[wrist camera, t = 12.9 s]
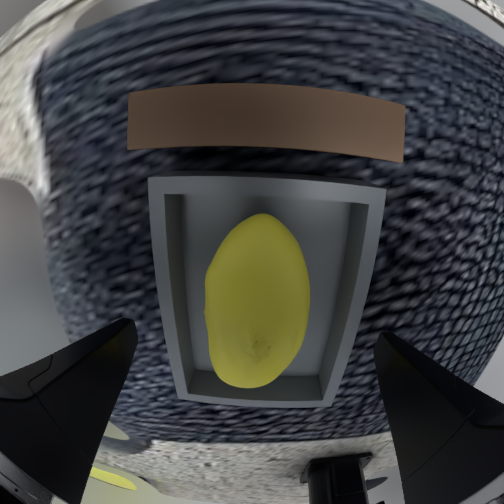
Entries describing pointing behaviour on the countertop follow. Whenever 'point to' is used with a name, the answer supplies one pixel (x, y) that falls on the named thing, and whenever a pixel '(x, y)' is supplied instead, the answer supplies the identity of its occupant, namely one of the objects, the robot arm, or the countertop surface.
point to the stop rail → (266, 119)
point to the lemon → (256, 302)
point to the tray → (315, 255)
